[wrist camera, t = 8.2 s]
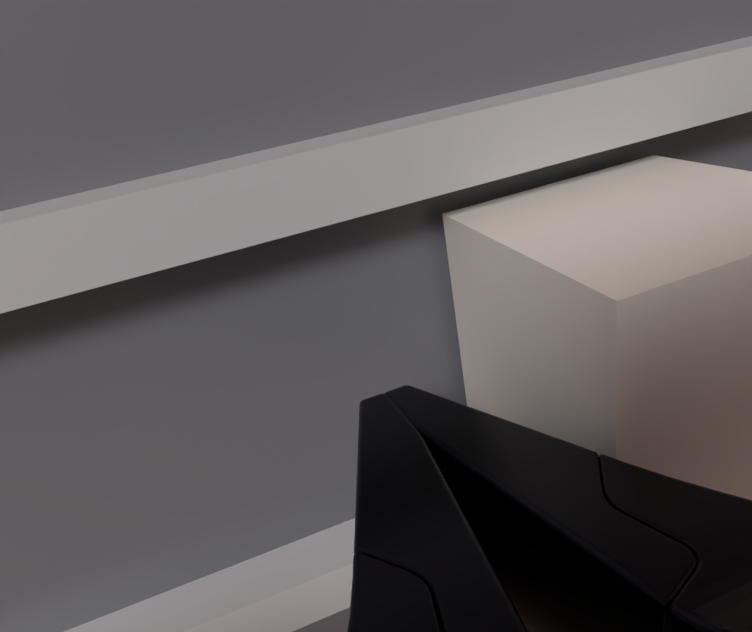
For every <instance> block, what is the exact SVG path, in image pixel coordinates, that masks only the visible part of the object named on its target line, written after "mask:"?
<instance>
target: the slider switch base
mask: <svg viewBox="0 0 752 632" xmlns="http://www.w3.org/2000/svg"><path fill="white" fill-rule="evenodd" d="M652 155H656V156H662V157H668V158H674V159H680V160H686V161H692V162H698V163H704V164H710V165H716V166H722V167H728V168H734V169H740V170H746V171H752V0H0V632H347V628H348V621H349V615H350V602H351V590H352V577H353V556H354V535H355V509H356V482H357V455H358V429H359V404H360V402H361V401H362V400H364V399H367V398H370V397H373V396H376V395H378V394H382V393H385V392H387V391H390V390H393V389H396V388H399V387H402V386H404V385H409V386H413V387H416V388H418V389H421V390H424V391H427V392H430V393H432V394H435V395H438V396H441V397H444V398H446V399H449V400H452V401H455V402H458V403H460V404H463V405H466V406H467V402H466V394H465V386H464V378H463V371H462V363H461V355H460V347H459V340H458V332H457V324H456V316H455V309H454V301H453V293H452V286H451V278H450V270H449V262H448V255H447V247H446V239H445V231H444V224H443V216H442V214H443V213H447V212H450V211H454V210H458V209H461V208H465V207H468V206H472V205H476V204H479V203H483V202H486V201H490V200H494V199H497V198H501V197H504V196H508V195H512V194H515V193H519V192H522V191H526V190H530V189H533V188H537V187H540V186H544V185H548V184H551V183H555V182H559V181H562V180H566V179H569V178H573V177H577V176H580V175H584V174H587V173H591V172H595V171H598V170H602V169H605V168H609V167H613V166H616V165H620V164H623V163H627V162H631V161H634V160H638V159H641V158H645V157H649V156H652Z"/></svg>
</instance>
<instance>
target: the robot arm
mask: <svg viewBox="0 0 752 632" xmlns="http://www.w3.org/2000/svg"><path fill="white" fill-rule="evenodd" d="M347 632H752V500H749V499H746V498H742V497H738V496H735V495H731V494H727V493H724V492H720V491H716V490H713V489H709V488H706V487H703V486H699V485H696V484H692V483H689V482H685V481H682V480H678V479H675V478H672V477H668V476H665V475H662V474H659V473H656V472H653V471H650V470H647V469H644V468H641V467H638V466H635V465H632V464H629V463H626V462H623V461H621V460H618V459H615V458H612V457H609V456H607V455H604V454H601V455H599V457H598V454H597V452H595V451H592V450H589V449H587V448H584V447H581V446H578V445H575V444H573V443H570V442H567V441H564V440H561V439H558V438H556V437H553V436H550V435H547V434H544V433H542V432H539V431H536V430H533V429H530V428H528V427H525V426H522V425H519V424H516V423H514V422H511V421H508V420H505V419H502V418H500V417H497V416H494V415H491V414H488V413H486V412H483V411H480V410H477V409H474V408H472V407H469V406H466V405H463V404H460V403H458V402H455V401H452V400H449V399H446V398H444V397H441V396H438V395H435V394H432V393H430V392H427V391H424V390H421V389H418V388H416V387H413V386H409V385H404V386H402V387H399V388H396V389H393V390H390V391H387V392H385V393H382V394H378V395H376V396H373V397H370V398H367V399H364V400H362V401H361V402H360V404H359V429H358V455H357V482H356V509H355V535H354V556H353V577H352V590H351V602H350V615H349V621H348V628H347Z"/></svg>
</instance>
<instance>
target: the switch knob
mask: <svg viewBox="0 0 752 632" xmlns="http://www.w3.org/2000/svg"><path fill="white" fill-rule="evenodd" d="M442 216H443V224H444V231H445V239H446V247H447V255H448V262H449V270H450V278H451V286H452V293H453V301H454V309H455V316H456V324H457V332H458V340H459V347H460V355H461V363H462V371H463V378H464V386H465V394H466V402H467V406H469V407H472V408H474V409H477V410H480V411H483V412H486V413H488V414H491V415H494V416H497V417H500V418H502V419H505V420H508V421H511V422H514V423H516V424H519V425H522V426H525V427H528V428H530V429H533V430H536V431H539V432H542V433H544V434H547V435H550V436H553V437H556V438H558V439H561V440H564V441H567V442H570V443H573V444H575V445H578V446H581V447H584V448H587V449H589V450H592V451H595V452H597V454H598V457H599V455H601V454H604V455H607V456H609V457H612V458H615V459H618V460H621V461H623V462H626V463H629V464H632V465H635V466H638V467H641V468H644V469H647V470H650V471H653V472H656V473H659V474H662V475H665V476H668V477H672V478H675V479H678V480H682V481H685V482H689V483H692V484H696V485H699V486H703V487H706V488H709V489H713V490H716V491H720V492H724V493H727V494H731V495H735V496H738V497H742V498H746V499H749V500H752V171H746V170H740V169H734V168H728V167H722V166H716V165H710V164H704V163H698V162H692V161H686V160H680V159H674V158H668V157H662V156H656V155H652V156H649V157H645V158H641V159H638V160H634V161H631V162H627V163H623V164H620V165H616V166H613V167H609V168H605V169H602V170H598V171H595V172H591V173H587V174H584V175H580V176H577V177H573V178H569V179H566V180H562V181H559V182H555V183H551V184H548V185H544V186H540V187H537V188H533V189H530V190H526V191H522V192H519V193H515V194H512V195H508V196H504V197H501V198H497V199H494V200H490V201H486V202H483V203H479V204H476V205H472V206H468V207H465V208H461V209H458V210H454V211H450V212H447V213H443V214H442Z"/></svg>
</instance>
